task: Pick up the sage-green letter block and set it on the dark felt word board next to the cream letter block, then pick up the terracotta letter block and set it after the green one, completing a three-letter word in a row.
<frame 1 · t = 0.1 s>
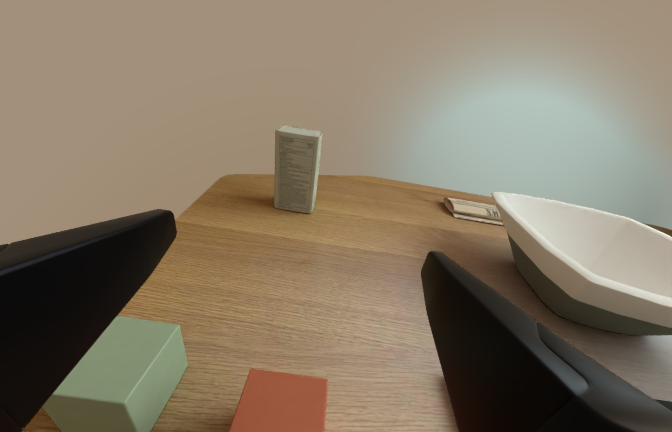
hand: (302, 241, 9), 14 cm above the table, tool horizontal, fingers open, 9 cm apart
letter block a: (133, 395, 16), on the table
cosmetic box: (294, 206, 41), on the table
newspaper: (504, 220, 51), on the table
bowl: (570, 295, 32), on the table
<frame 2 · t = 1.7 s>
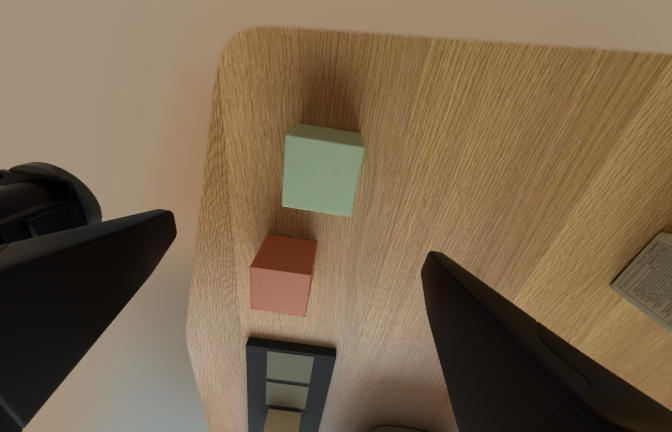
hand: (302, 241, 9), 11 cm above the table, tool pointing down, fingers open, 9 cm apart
word board: (286, 402, 34), on the table
letter block a: (326, 158, 18), on the table
cosmetic box: (651, 262, 22), on the table
letter block b: (290, 257, 23), on the table
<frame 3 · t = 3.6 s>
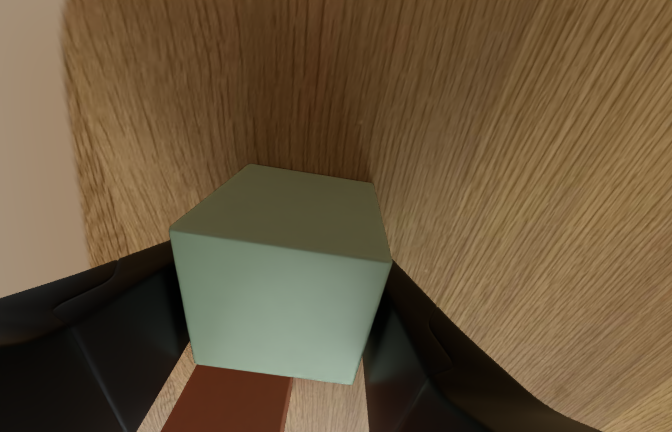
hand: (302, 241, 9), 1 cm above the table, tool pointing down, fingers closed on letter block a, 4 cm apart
letter block a: (305, 226, 10), on the table, touching gripper
letter block b: (255, 365, 14), on the table
when the fingers open (2 cm above the table, at t = 9.7 s): letter block a stays where it is, resting on word board.
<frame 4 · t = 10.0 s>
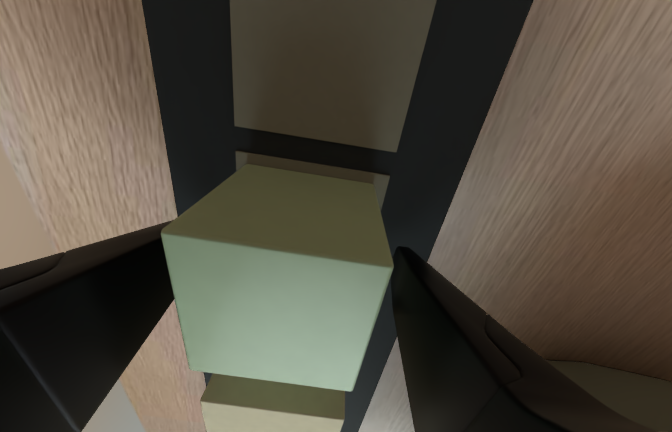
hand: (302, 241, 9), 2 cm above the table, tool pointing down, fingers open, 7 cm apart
word board: (301, 286, 12), on the table
letter block a: (304, 228, 10), point 1 cm above the table, touching word board
bowl: (557, 411, 17), on the table
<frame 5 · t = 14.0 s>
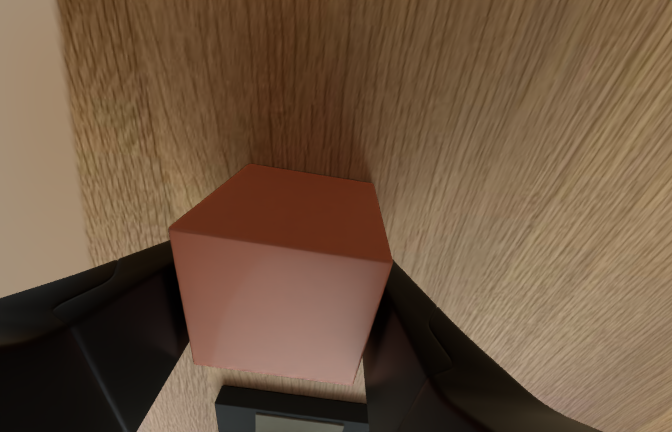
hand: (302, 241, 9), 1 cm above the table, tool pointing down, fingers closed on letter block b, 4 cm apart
letter block b: (305, 226, 10), on the table, touching gripper
when the fingers open (2 cm above the table, at t = 19.3 s): letter block b stays where it is, resting on word board.
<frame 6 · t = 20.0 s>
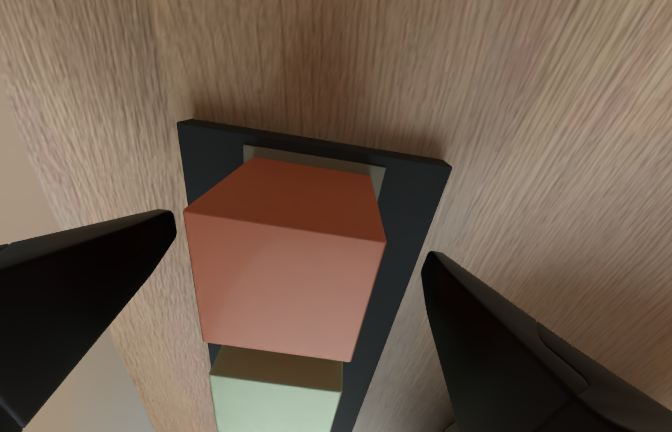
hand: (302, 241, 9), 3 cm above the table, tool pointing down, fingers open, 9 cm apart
word board: (295, 347, 16), on the table
letter block a: (295, 317, 13), point 1 cm above the table, touching word board
letter block b: (306, 217, 10), point 1 cm above the table, touching word board
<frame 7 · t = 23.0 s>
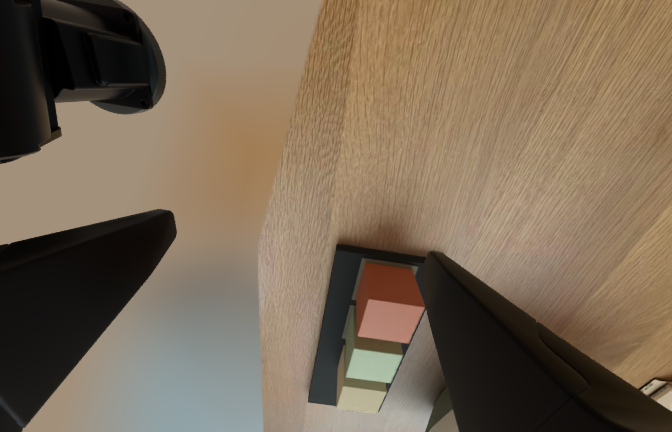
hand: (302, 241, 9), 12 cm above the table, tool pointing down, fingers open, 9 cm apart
word board: (362, 340, 29), on the table
letter block a: (369, 325, 27), point 1 cm above the table, touching word board
newspaper: (613, 426, 36), on the table
letter block b: (383, 283, 24), point 1 cm above the table, touching word board
bowl: (480, 395, 34), on the table
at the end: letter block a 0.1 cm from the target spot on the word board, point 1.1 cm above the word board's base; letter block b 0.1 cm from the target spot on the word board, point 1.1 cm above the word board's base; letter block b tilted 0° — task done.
